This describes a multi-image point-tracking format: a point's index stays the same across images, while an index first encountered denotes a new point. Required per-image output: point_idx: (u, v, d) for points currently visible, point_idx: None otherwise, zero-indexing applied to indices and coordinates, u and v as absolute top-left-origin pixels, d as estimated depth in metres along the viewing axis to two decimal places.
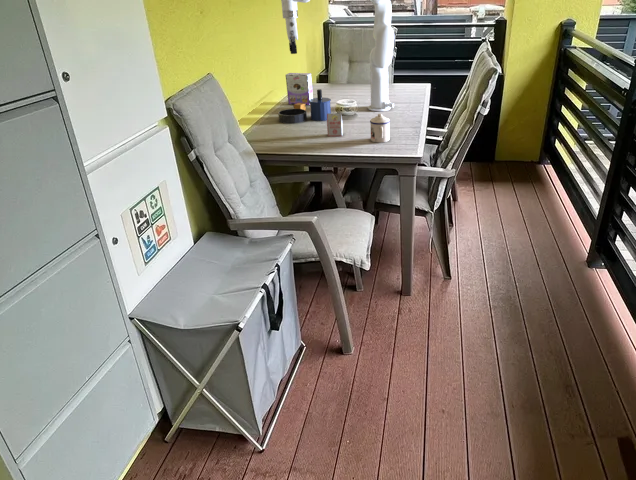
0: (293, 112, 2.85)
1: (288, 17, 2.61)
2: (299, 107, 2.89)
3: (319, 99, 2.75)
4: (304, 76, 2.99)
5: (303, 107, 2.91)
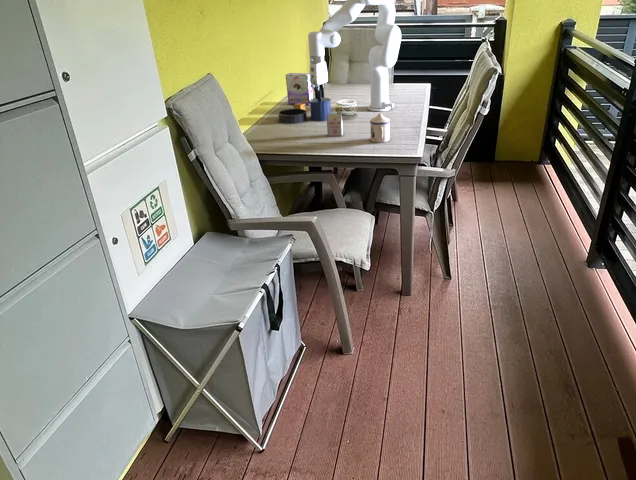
0: (293, 112, 2.85)
1: (311, 62, 2.64)
2: (299, 107, 2.89)
3: (319, 99, 2.75)
4: (304, 76, 2.99)
5: (303, 107, 2.91)
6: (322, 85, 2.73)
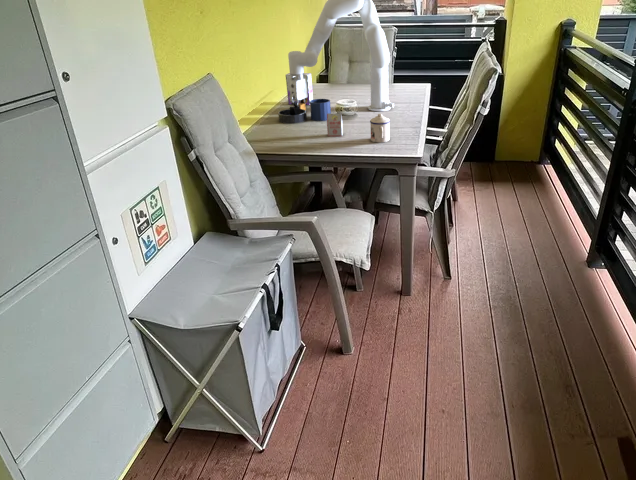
0: None
1: (291, 79, 2.82)
2: (299, 107, 2.89)
3: None
4: (304, 76, 2.99)
5: (303, 107, 2.91)
6: (303, 100, 2.91)
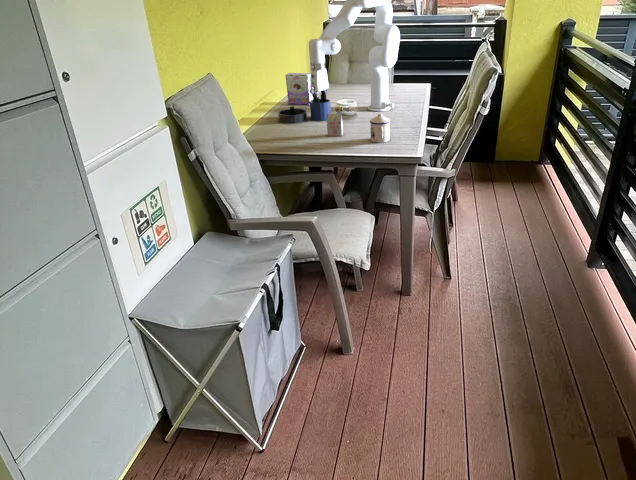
0: None
1: (312, 69, 2.66)
2: None
3: None
4: (304, 76, 2.99)
5: None
6: (324, 91, 2.75)
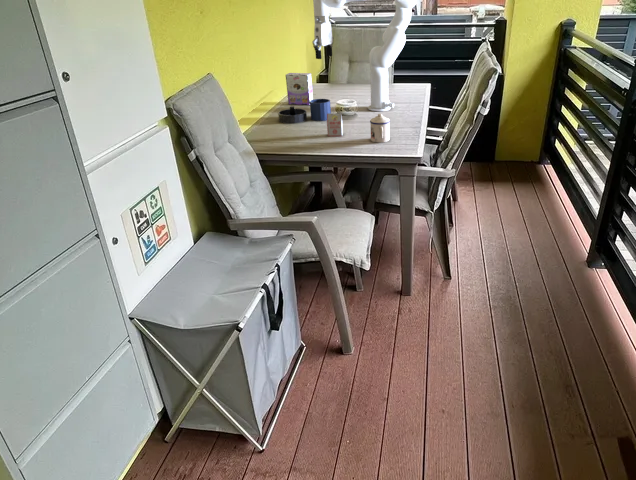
0: None
1: (316, 22, 2.62)
2: None
3: None
4: (304, 76, 2.99)
5: None
6: (329, 45, 2.73)
